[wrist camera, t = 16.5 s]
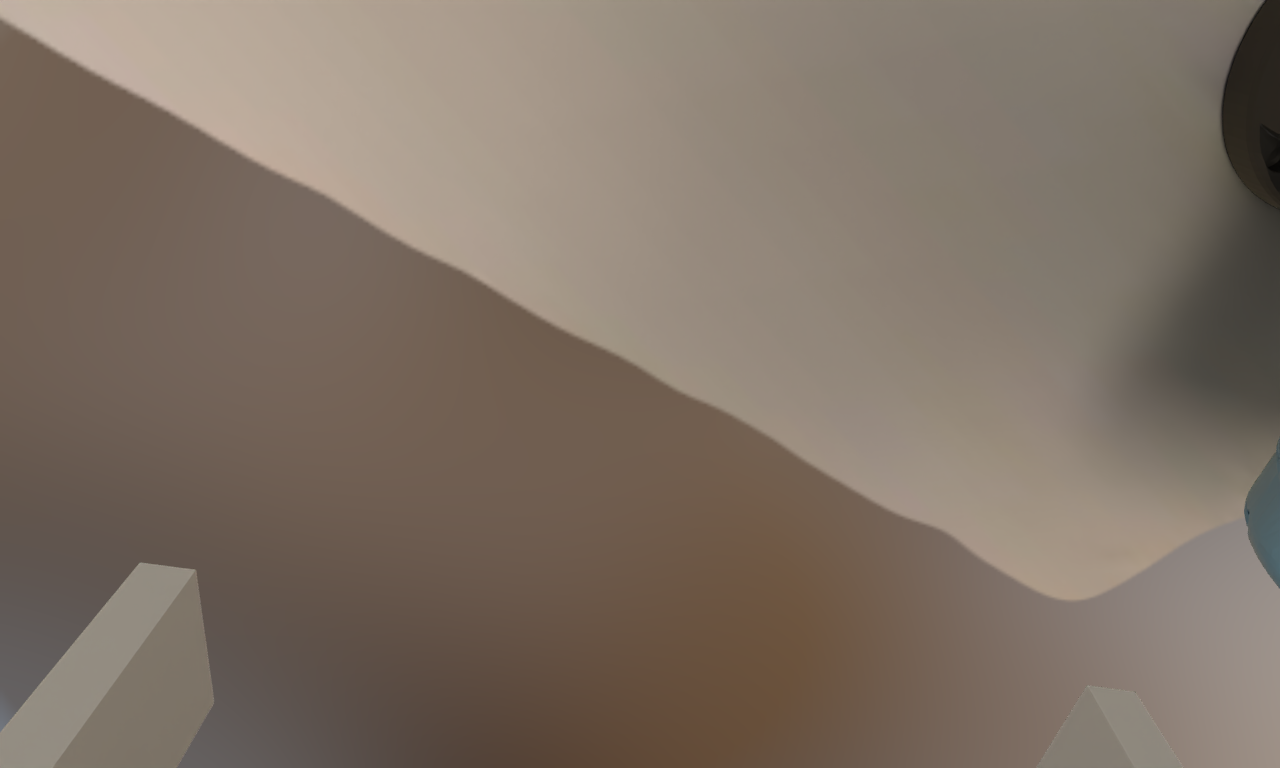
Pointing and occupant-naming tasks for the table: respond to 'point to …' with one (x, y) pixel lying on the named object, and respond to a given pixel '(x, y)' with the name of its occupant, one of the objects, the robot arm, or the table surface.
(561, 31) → the table surface
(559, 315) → the table surface
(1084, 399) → the table surface
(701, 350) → the table surface
